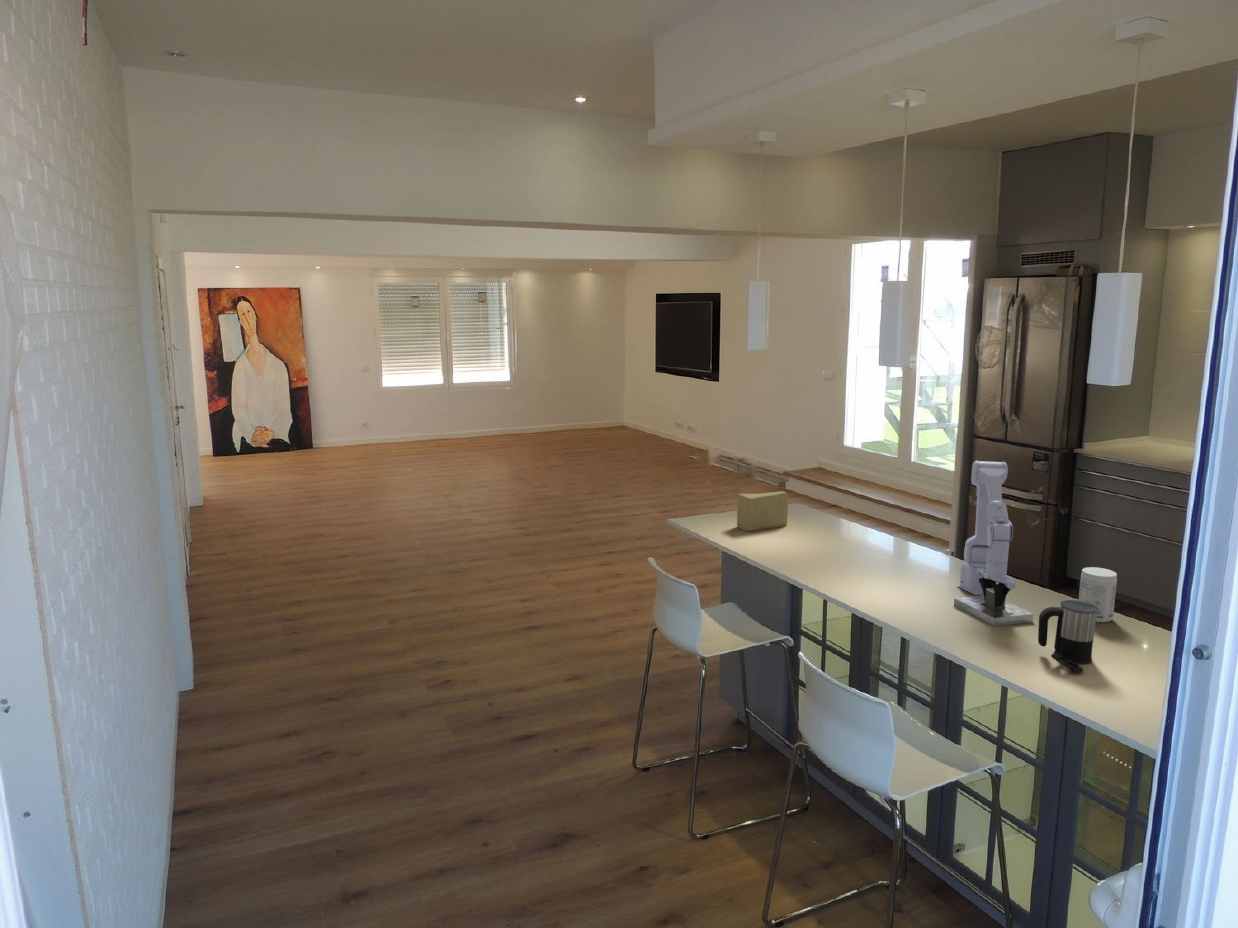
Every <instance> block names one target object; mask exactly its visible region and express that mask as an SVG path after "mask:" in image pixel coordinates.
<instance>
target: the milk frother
mask: <svg viewBox="0 0 1238 928" xmlns="http://www.w3.org/2000/svg"><path fill="white" fill-rule="evenodd" d="M1059 605H1060V607H1057V606H1049V607H1046V608H1044V609H1043V610H1041V612H1040V613H1039V616H1038V632H1037V633H1038V634H1037V636H1038V637H1037V641H1038V644H1039V646H1041V647H1046V646H1047V643H1048V632H1049V631H1048V629H1049V628H1048V627H1049V620H1050V618H1052V617H1057V622H1056V631H1055V638H1054V647H1053V649H1054V651H1053V653H1052V654H1051V658H1052V659H1053V660H1055V661H1056V662H1057V663H1058V664H1061V665H1062V666H1064V667H1066V668H1067V669H1068V670H1070V671H1071V672H1072V673H1075V672H1079V673H1083V671H1084V667H1083V666H1081V665H1084V664H1085V665H1086V664H1090V663H1092V662H1093V657H1092V656H1093V655H1092V654H1093V645H1094V644H1093V643H1094V636H1095V630H1096V629H1095V628H1096V623H1097V622H1096V616H1097V611H1098V610H1099V608H1098V607H1097V606H1095V605H1093V604H1090V603H1086V602H1082V601H1079V600H1076V599H1075V600H1074V599H1072V600H1070V599H1065V600H1061V601H1060V602H1059Z"/></svg>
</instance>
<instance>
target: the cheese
mask: <svg viewBox="0 0 1238 928" xmlns="http://www.w3.org/2000/svg"><path fill="white" fill-rule="evenodd" d="M788 505H789V503H788V494H787V492H786V491H781V490H780V491H774V492H773V491H772V492H763V493H738V494H737V504H736V509H737V510H736V511H737V512H736V527H737V528H738V529H740V530H742V531H744V532H746V533H747V532H753V531H760V530H764V529H765V530H766V529H772V528H779V527H785V526H787V525H788V514H789V512H788V511H789V509H788V508H789V507H788Z"/></svg>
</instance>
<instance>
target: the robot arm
mask: <svg viewBox="0 0 1238 928" xmlns="http://www.w3.org/2000/svg"><path fill="white" fill-rule="evenodd" d="M1008 469H1009V468H1008V463H1006V462H1005V461H983V460H982V461H981V460H975V461H973V463H972V466H971V475H970V476H971V477H970V480H971V485H973V486H975V487H976V512H975V528H974V535H973V536H971V537H969V538H967V539H966V540H965V543H964V544H965V545H964V548H963V561H964V563H963V564H962V565H961V568H960V575H959V576H960V577H959V584H957V585H956V587H958V588H960V589H961V590H964V591H966V592H967V593H968V592H969V593H971V594H972V595H973V596H974V595H975V596H980V595H984V600H985V597H986V588H993V589H994V595H995V600H994V601H995V606H996V607H1000V606H1002V604H1003V602H1004V599H1005V597H1006V598H1007V595H1008V594H1009V592H1010V591H1011V590H1012V589H1015V588H1016V581H1014V580H1012V579H1011V578H1010V577H1009V576H1008V575H1007V571H1008V561H1009V551H1010V550H1009V549H1010V543H1011V542H1012V541H1013V537H1014V526H1013V523H1012V522H1011V520H1010V519H1009V515H1008V514H1009V513H1008V507H1007V504H1006V503H1005V502H1003V490H1002V489H1003V488H1002V485H1003V484H1005V481H1006V480H1007V478H1008V474H1009V473H1008V471H1009V470H1008Z"/></svg>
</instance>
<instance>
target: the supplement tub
mask: <svg viewBox="0 0 1238 928" xmlns="http://www.w3.org/2000/svg"><path fill="white" fill-rule="evenodd" d="M1117 582H1118V573H1117V572H1115V571H1113V570H1111V569H1108V568H1102V567H1096V566H1095V567H1093V566H1089V567H1083V568H1082V569H1081V575H1080V582H1079V592H1078V593H1079V594H1078V601H1082V602H1086V603H1090V604H1093V605H1095V606H1097V607H1098V608H1099V610H1098V611H1097V616H1096V623H1108V622H1110V621H1112V620H1113V618H1114V611H1115V601H1116V592H1117V586H1118V583H1117Z"/></svg>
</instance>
